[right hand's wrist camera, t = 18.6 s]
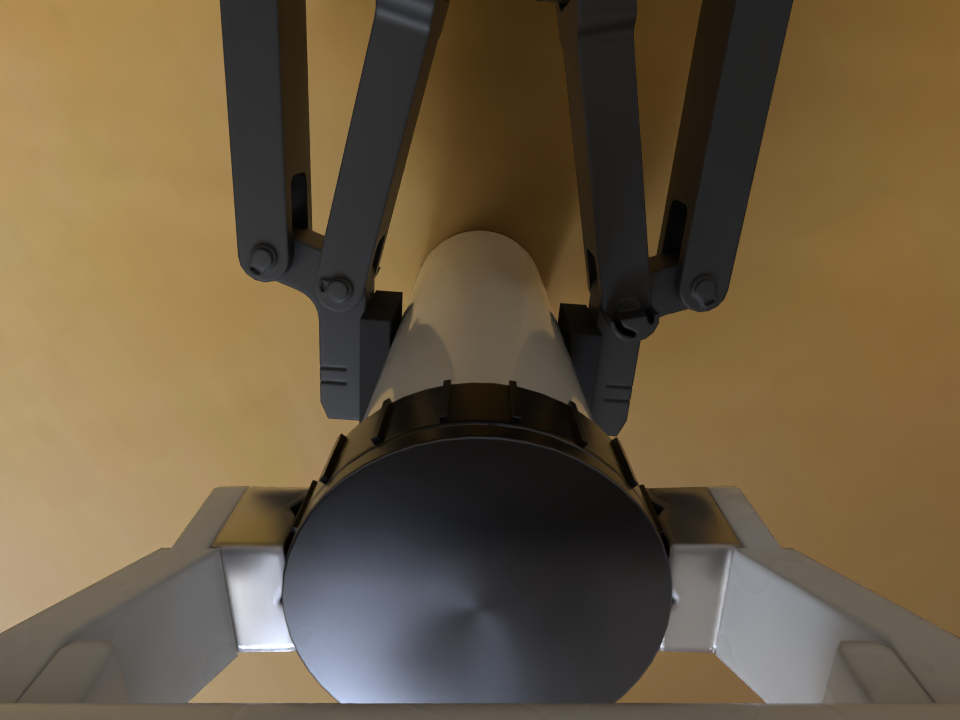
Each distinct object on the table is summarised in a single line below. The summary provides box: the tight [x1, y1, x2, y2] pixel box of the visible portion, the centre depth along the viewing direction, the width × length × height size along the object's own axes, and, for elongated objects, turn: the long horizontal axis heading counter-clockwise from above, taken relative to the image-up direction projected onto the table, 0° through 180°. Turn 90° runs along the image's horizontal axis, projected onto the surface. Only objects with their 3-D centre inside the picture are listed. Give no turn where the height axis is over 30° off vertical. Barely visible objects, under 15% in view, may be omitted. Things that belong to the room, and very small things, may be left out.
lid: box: [282, 379, 673, 703], centre depth 9 cm, size 5×5×2 cm
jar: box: [363, 231, 594, 422], centre depth 16 cm, size 5×5×15 cm
